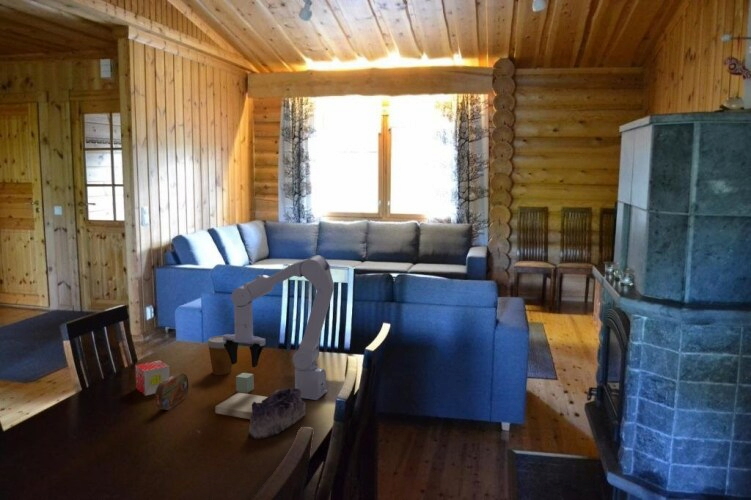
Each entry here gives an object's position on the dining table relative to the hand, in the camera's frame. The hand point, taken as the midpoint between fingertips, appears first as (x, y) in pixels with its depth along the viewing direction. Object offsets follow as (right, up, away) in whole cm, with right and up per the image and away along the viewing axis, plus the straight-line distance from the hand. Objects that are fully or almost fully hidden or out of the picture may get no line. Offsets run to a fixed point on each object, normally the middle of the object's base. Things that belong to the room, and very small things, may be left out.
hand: (244, 364), depth 189 cm
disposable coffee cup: (-12, -6, +18) cm, 23 cm away
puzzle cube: (-30, -8, +1) cm, 31 cm away
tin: (-19, -10, -11) cm, 24 cm away
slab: (+3, -11, -14) cm, 18 cm away
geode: (+15, -12, -25) cm, 31 cm away
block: (0, -8, +1) cm, 8 cm away
